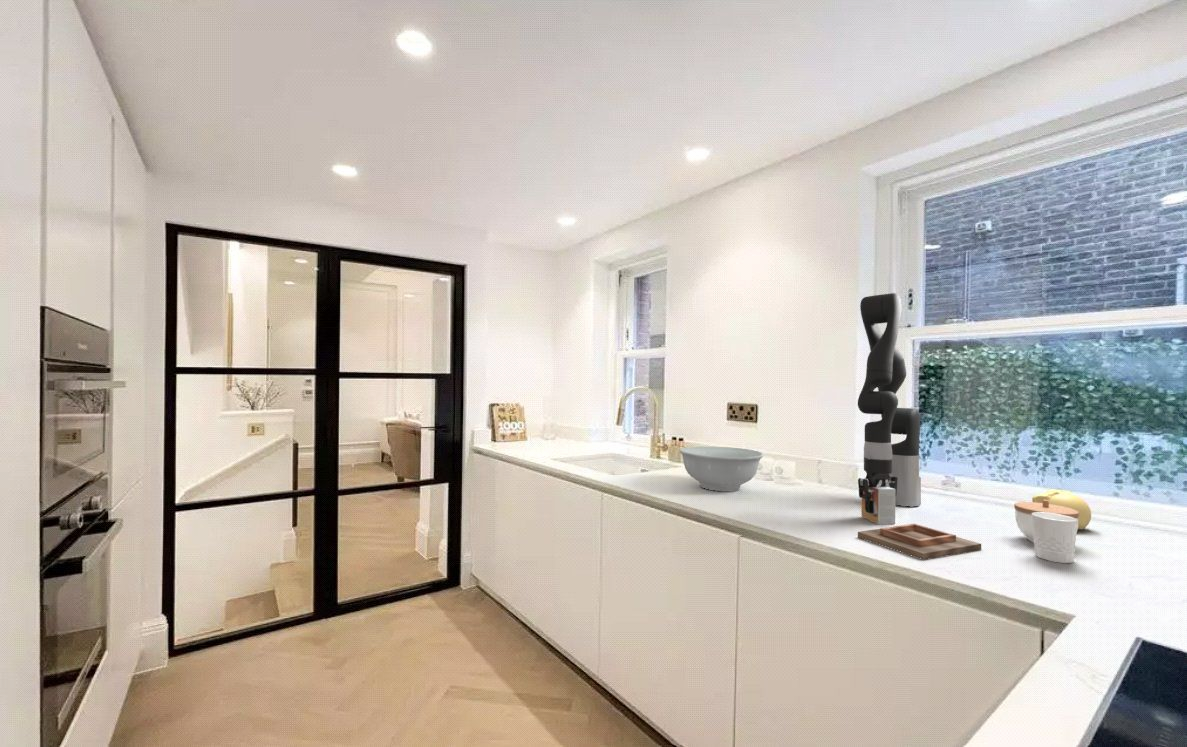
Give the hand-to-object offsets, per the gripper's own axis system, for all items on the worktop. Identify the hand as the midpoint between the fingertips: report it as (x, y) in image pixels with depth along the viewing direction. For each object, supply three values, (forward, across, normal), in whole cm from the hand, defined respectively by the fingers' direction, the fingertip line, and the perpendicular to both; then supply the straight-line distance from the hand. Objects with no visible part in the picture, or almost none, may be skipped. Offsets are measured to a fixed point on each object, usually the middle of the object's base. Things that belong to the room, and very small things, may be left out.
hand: (878, 511), depth 149 cm
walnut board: (+3, +10, +19) cm, 21 cm away
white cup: (+3, -11, +38) cm, 40 cm away
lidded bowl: (+3, -24, +30) cm, 39 cm away
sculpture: (+3, -46, +23) cm, 51 cm away
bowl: (+3, +17, -56) cm, 59 cm away
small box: (+3, 0, 0) cm, 3 cm away
